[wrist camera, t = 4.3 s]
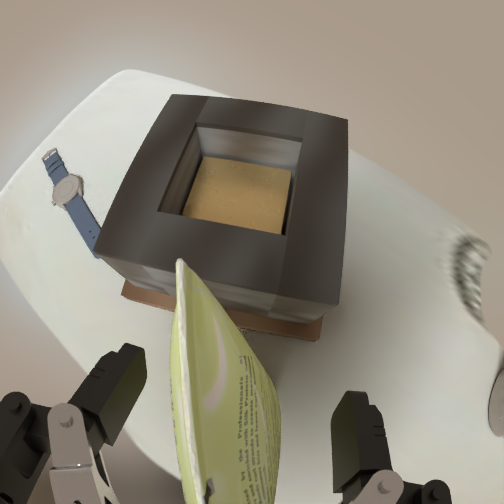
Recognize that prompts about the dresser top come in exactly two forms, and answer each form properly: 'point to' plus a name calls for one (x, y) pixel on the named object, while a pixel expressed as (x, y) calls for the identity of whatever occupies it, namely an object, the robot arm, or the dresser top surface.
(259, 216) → the tan sandy square tile
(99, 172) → the dresser top surface
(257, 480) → the tube
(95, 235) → the wristwatch
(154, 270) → the socket
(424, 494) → the robot arm
